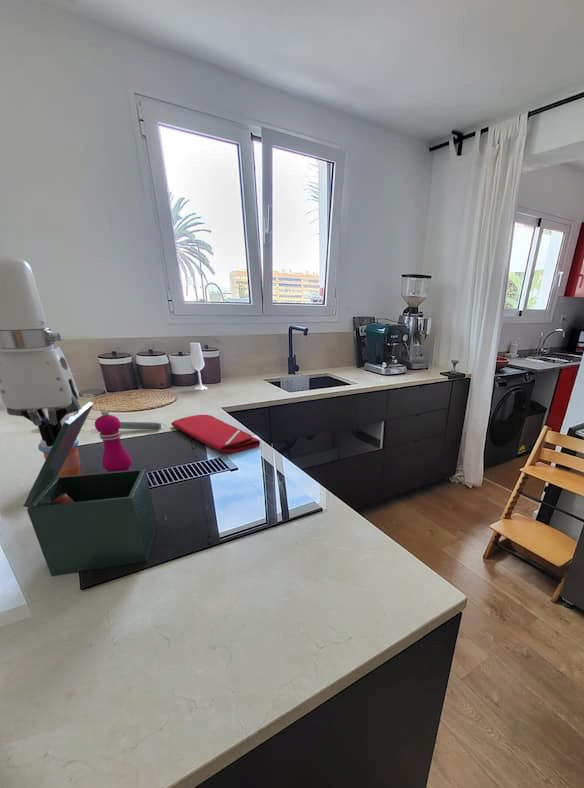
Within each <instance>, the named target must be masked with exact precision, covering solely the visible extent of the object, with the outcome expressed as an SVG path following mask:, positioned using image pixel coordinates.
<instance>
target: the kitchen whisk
mask: <svg viewBox="0 0 584 788" xmlns="http://www.w3.org/2000/svg"><path fill="white" fill-rule="evenodd" d="M88 417H89V418H88ZM88 417H87V418H86V420H93V421H96V419H97V418H98V417H96V416H94V418H93V416H92V415H91V416H90V415H88ZM90 417H91V418H90ZM120 424H121V427H120V429H119V430H162V429H163V430H164V429H166V428H168V427H167V425H166V424H164V423H161V422H149V421H146V422H145V421H120ZM162 425H164V426H165V427H163V428H162ZM80 432H83V429H81V430H80ZM95 432H99V431H98V430H96V428H95V429H92V431H91V434H94V433H95Z"/></svg>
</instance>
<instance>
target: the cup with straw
mask: <svg viewBox="0 0 584 788" xmlns="http://www.w3.org/2000/svg"><path fill="white" fill-rule="evenodd" d="M79 444H80V443H79V440H78V438H76V440H75V442H74V444H73V446H72V448H71V450H70V452H69V454H68V456H67V458H66V460H65V462H64V464H63V466H62V468H61V470H60V472H59V474H58V475H57V477H59V476H70V475H81V474H82V470H81V459H80V453H79V449H78V447H77V446H78V445H79ZM37 447H38V448H37V449H38V451H39V452H42V453H43V458H44V461H45V460H46V458H47V456H48V454H49V452H50V450H51V448H52V446H51V447H47V445H46V442H45V441H43V440H42V438H41V439H40V443H38V445H37Z"/></svg>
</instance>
